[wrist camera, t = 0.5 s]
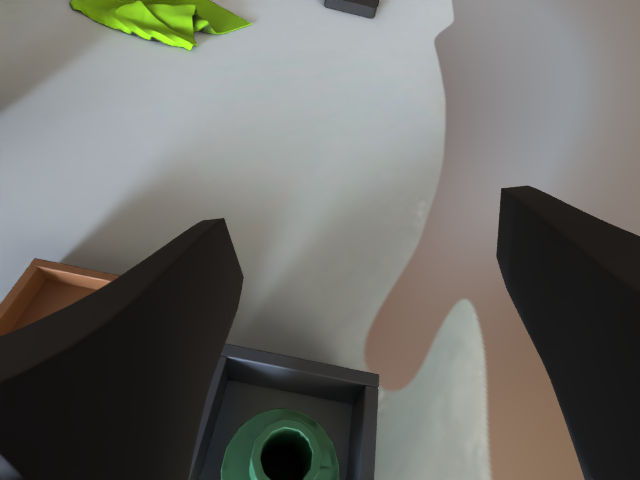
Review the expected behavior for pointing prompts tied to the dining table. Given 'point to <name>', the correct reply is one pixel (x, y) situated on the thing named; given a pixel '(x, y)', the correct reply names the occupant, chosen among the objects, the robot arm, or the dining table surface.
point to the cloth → (162, 18)
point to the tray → (47, 292)
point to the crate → (300, 380)
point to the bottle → (280, 449)
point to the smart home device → (354, 6)
